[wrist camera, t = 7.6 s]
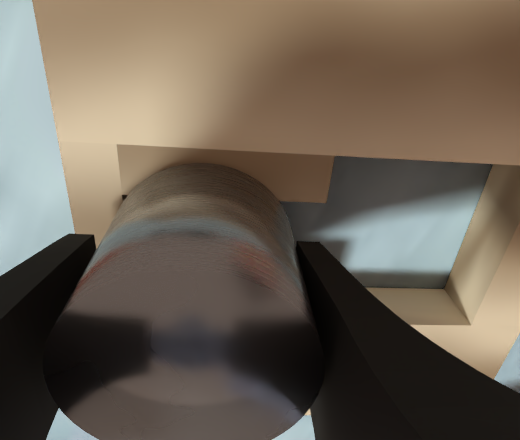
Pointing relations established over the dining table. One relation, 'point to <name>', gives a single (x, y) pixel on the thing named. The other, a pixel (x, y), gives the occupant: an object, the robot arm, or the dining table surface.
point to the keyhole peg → (189, 317)
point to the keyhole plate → (303, 118)
